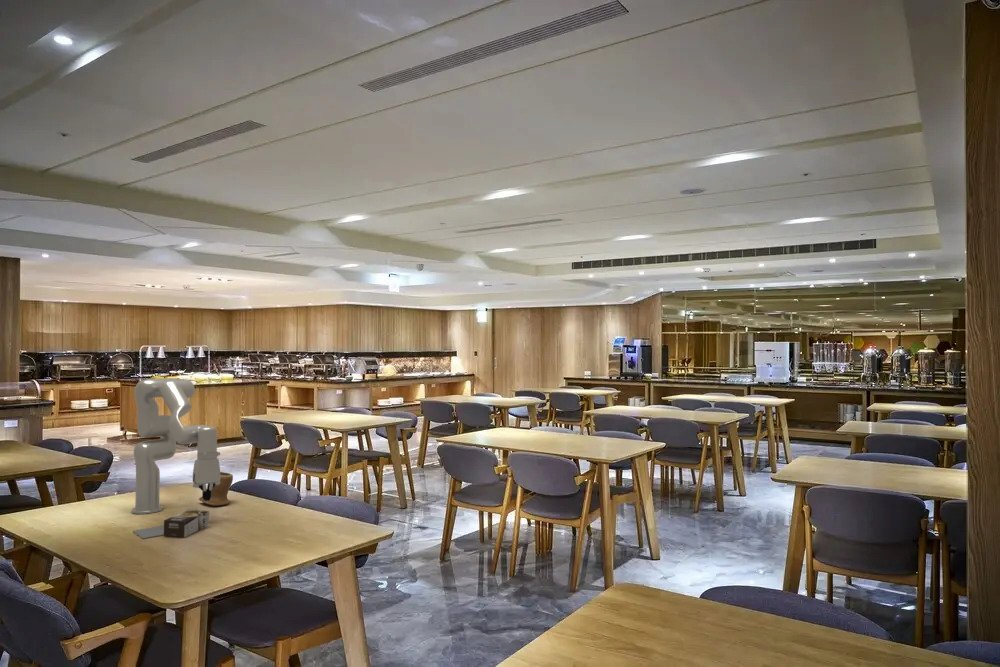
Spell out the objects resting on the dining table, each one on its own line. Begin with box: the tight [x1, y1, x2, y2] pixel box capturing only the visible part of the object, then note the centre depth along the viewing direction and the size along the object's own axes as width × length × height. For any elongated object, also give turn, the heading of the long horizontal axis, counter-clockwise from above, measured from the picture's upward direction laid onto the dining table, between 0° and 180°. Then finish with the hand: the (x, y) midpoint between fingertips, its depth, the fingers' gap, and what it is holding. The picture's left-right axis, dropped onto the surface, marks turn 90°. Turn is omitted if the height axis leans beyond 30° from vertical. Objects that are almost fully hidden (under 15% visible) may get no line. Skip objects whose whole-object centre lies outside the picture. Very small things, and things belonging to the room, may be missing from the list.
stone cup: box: [198, 471, 234, 507], centre depth 307 cm, size 15×12×15 cm
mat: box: [132, 525, 164, 540], centre depth 261 cm, size 14×18×1 cm
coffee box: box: [163, 508, 210, 539], centre depth 260 cm, size 9×6×16 cm
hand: (206, 500), depth 273 cm, fingers closed
